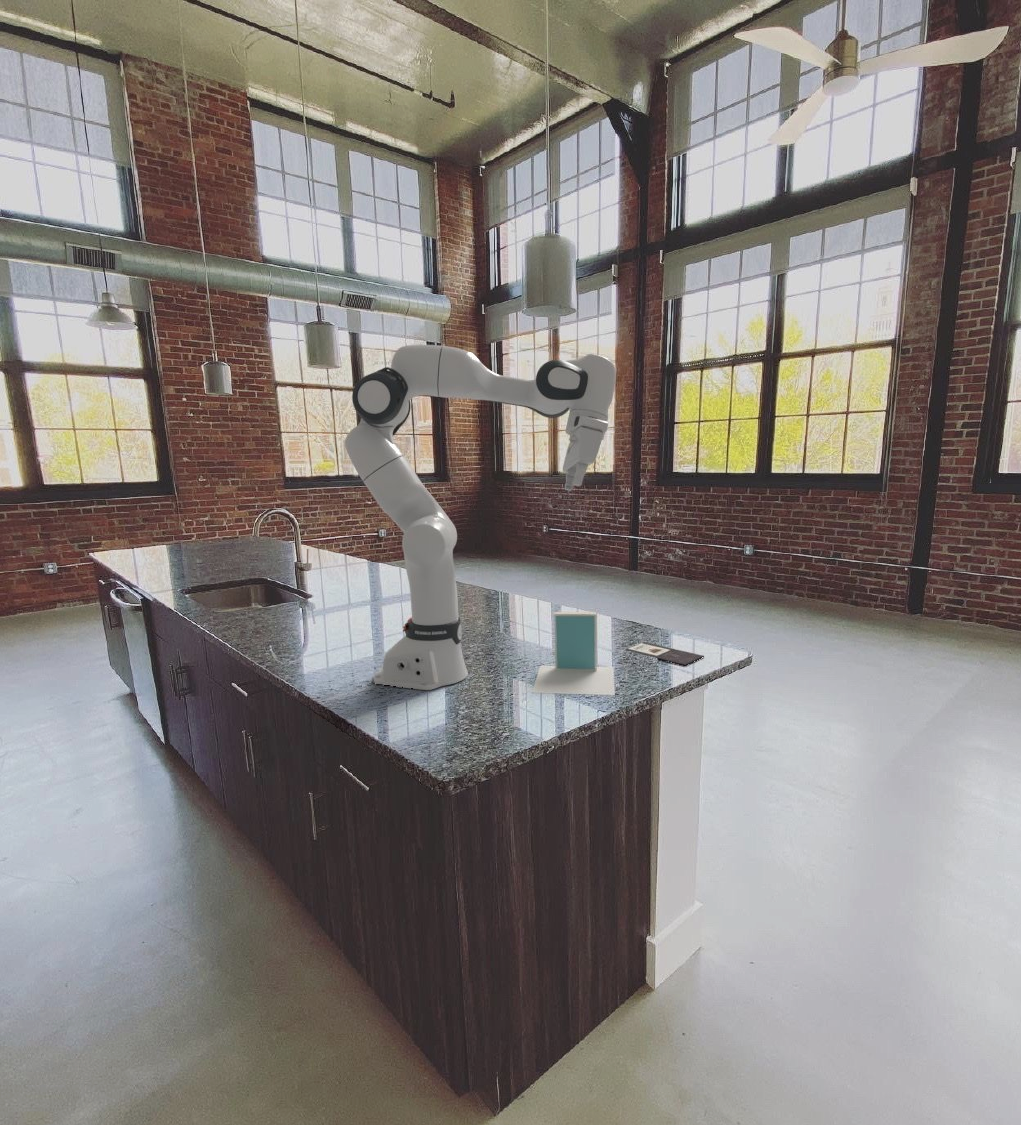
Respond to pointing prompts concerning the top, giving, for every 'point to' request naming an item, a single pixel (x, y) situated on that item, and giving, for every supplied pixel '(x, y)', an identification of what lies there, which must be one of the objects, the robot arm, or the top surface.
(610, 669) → the mat
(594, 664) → the tile
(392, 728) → the top surface
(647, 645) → the chocolate bar
